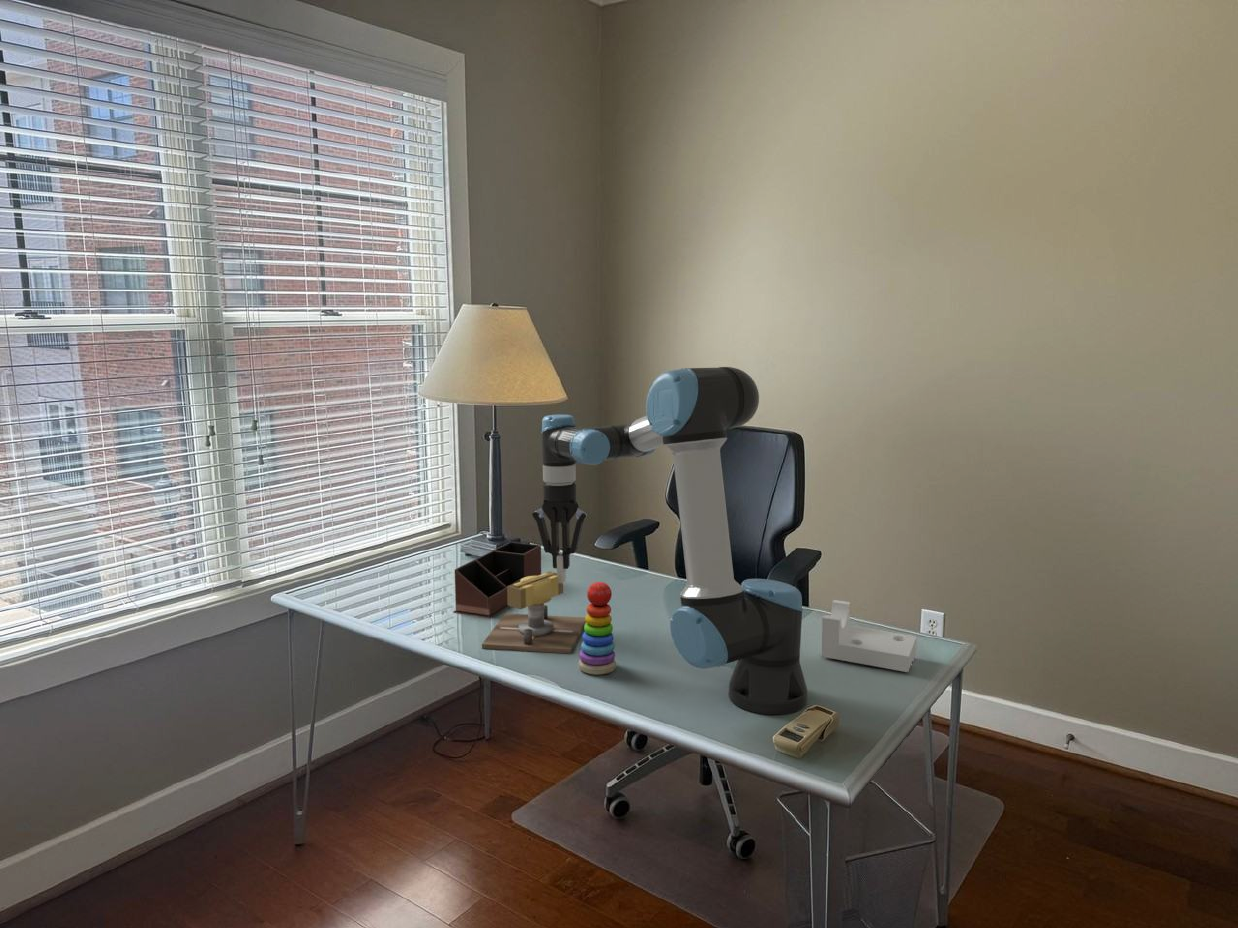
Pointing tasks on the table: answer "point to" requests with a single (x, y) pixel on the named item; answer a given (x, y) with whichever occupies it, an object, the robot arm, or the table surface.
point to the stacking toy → (598, 633)
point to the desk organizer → (494, 578)
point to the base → (535, 632)
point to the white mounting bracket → (864, 642)
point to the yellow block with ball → (534, 590)
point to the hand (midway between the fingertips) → (561, 581)
